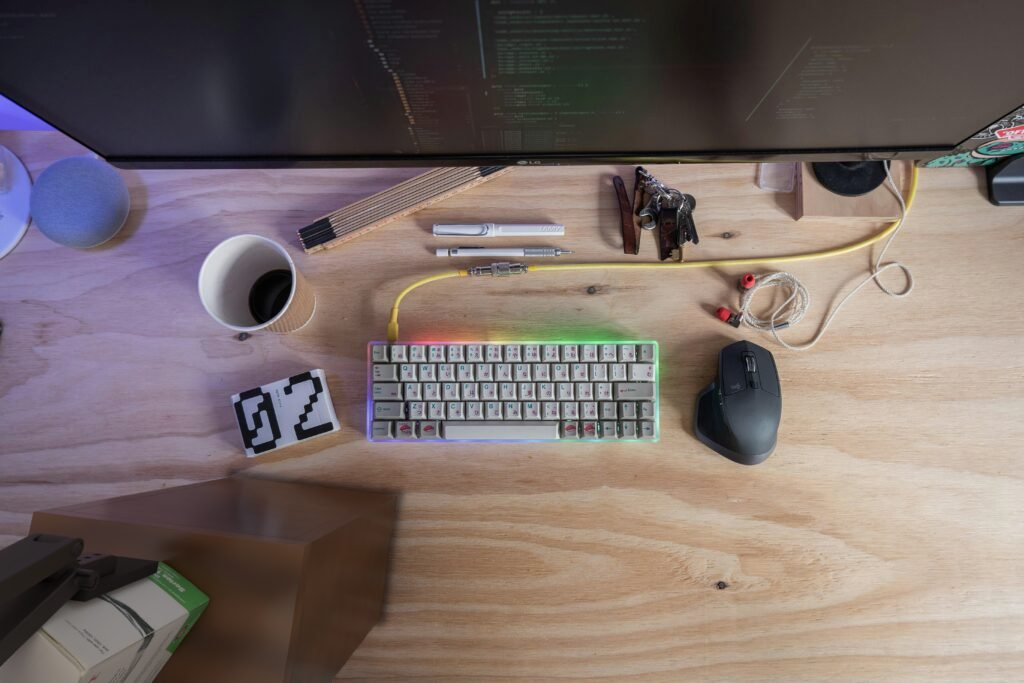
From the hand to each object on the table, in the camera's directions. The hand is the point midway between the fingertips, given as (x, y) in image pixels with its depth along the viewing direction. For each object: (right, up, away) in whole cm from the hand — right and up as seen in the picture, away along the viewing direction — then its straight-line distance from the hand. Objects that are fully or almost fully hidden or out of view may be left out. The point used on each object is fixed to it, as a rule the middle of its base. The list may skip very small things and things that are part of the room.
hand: (123, 644), depth 39 cm
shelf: (0, -1, +4) cm, 4 cm away
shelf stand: (+1, -4, +32) cm, 32 cm away
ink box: (0, 0, +3) cm, 3 cm away
